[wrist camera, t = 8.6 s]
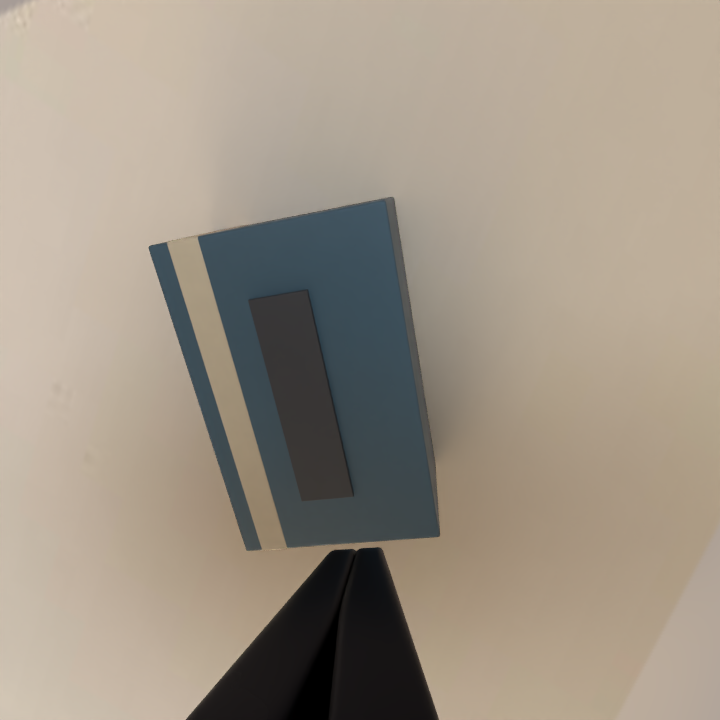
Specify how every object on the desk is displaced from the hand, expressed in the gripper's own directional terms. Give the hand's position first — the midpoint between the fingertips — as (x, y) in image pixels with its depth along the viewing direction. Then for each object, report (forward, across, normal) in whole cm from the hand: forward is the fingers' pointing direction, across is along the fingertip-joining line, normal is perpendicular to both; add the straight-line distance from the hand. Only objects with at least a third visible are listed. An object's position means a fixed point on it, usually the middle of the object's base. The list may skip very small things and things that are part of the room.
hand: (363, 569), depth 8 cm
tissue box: (+9, +3, 0) cm, 10 cm away
